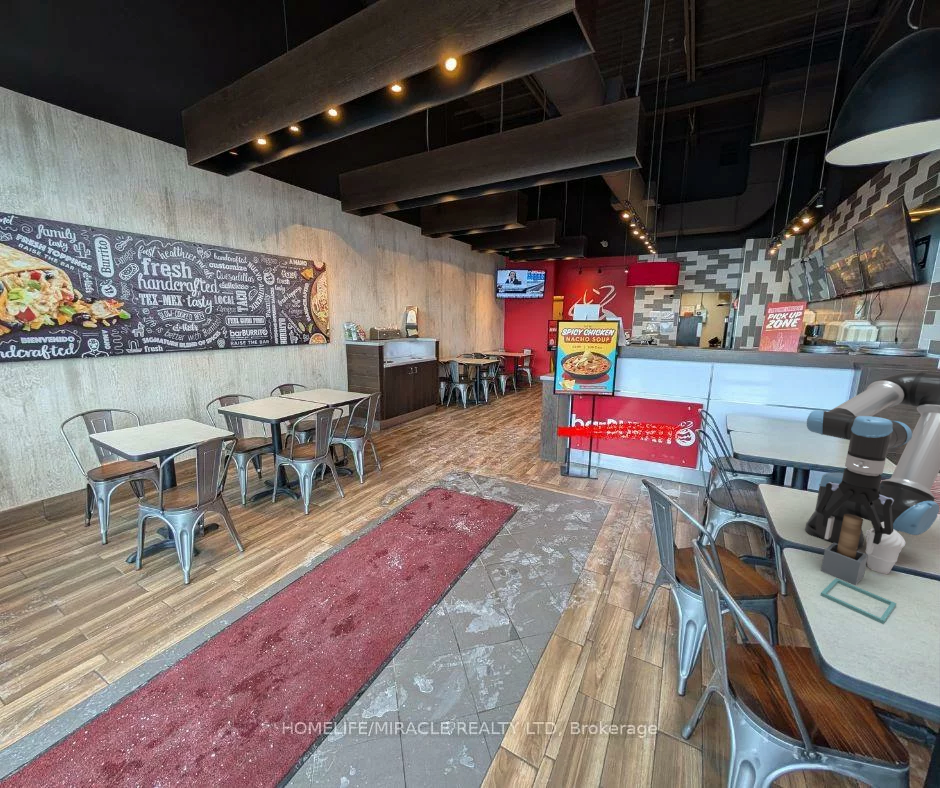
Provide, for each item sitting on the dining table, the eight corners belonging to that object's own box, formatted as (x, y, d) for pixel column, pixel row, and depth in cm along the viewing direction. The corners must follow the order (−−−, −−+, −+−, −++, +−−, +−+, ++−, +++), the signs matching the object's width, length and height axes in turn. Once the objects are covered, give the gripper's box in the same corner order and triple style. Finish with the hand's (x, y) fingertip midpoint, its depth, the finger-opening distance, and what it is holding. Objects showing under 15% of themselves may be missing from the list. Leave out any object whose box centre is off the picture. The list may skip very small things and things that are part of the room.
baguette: (835, 567, 116) (846, 512, 113) (853, 575, 113) (865, 518, 110) (830, 572, 114) (841, 516, 111) (848, 579, 111) (861, 522, 108)
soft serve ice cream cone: (906, 582, 112) (918, 531, 109) (872, 578, 113) (883, 528, 111) (882, 565, 120) (892, 517, 117) (850, 561, 122) (860, 514, 119)
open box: (828, 566, 119) (833, 542, 118) (862, 579, 113) (868, 554, 111) (820, 573, 115) (824, 549, 114) (854, 588, 109) (860, 562, 107)
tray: (834, 583, 111) (835, 577, 110) (895, 609, 101) (896, 603, 100) (819, 598, 104) (820, 592, 104) (882, 627, 94) (884, 621, 94)
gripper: (810, 462, 115) (797, 532, 119) (916, 487, 98) (897, 568, 101) (819, 458, 119) (806, 525, 123) (922, 481, 102) (904, 559, 105)
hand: (847, 544), depth 112 cm, fingers open, 8 cm apart
